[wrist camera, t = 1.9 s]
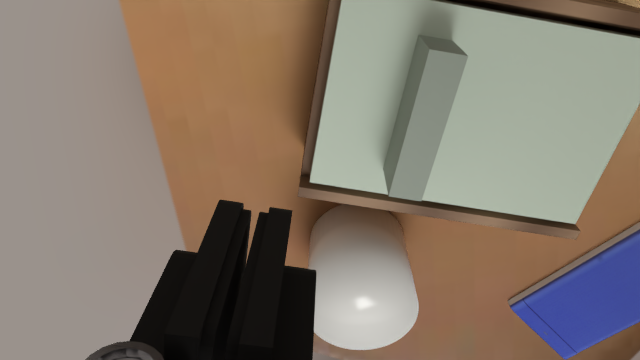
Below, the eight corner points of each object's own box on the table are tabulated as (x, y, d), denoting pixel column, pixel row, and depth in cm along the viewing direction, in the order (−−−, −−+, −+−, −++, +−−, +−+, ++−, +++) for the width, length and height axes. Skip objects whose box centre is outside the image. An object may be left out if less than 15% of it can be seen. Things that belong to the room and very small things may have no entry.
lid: (657, 39, 22) (716, 60, 18) (567, 214, 26) (600, 255, 23) (344, -18, 21) (345, -7, 17) (310, 173, 26) (306, 210, 22)
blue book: (667, 219, 31) (511, 310, 36) (717, 285, 34) (566, 362, 38) (653, 206, 33) (504, 295, 37) (702, 271, 35) (558, 347, 40)
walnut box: (618, 2, 26) (694, 23, 20) (534, 185, 31) (575, 239, 26) (336, -50, 25) (337, -43, 19) (304, 148, 31) (297, 196, 25)
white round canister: (414, 210, 33) (432, 275, 27) (391, 283, 36) (402, 356, 30) (318, 195, 32) (314, 258, 26) (303, 270, 36) (297, 341, 30)
